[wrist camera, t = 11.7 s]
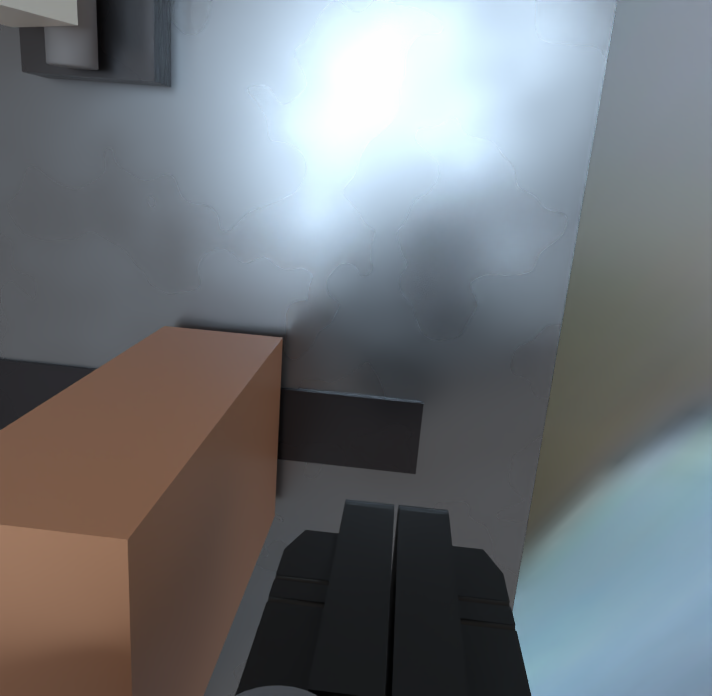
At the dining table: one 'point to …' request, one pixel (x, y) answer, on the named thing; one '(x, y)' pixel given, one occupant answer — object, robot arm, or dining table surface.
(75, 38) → the lever
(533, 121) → the panel
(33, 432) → the slider knob
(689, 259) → the dining table surface
